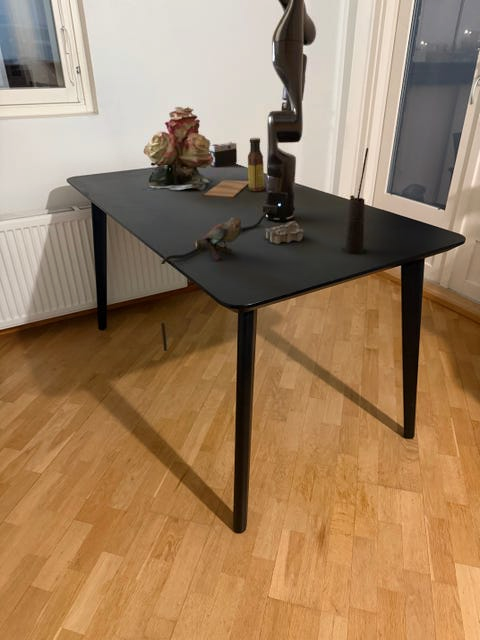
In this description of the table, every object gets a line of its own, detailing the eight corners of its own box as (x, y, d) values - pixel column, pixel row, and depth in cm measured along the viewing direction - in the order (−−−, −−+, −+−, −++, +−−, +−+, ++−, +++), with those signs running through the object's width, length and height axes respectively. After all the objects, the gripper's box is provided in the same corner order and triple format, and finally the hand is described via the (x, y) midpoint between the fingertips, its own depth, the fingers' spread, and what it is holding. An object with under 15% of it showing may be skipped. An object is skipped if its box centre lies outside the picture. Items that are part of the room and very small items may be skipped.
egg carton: (296, 233, 144) (297, 220, 142) (305, 241, 138) (306, 228, 136) (263, 236, 142) (263, 223, 140) (271, 244, 135) (272, 231, 133)
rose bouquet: (141, 190, 190) (132, 110, 175) (172, 174, 214) (167, 102, 199) (198, 195, 183) (194, 112, 168) (224, 178, 207) (223, 104, 191)
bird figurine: (179, 245, 133) (197, 193, 117) (208, 239, 138) (228, 188, 123) (202, 281, 129) (223, 232, 113) (230, 273, 134) (254, 224, 118)
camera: (227, 160, 239) (226, 140, 234) (237, 163, 233) (237, 142, 228) (205, 164, 231) (204, 143, 226) (215, 167, 226) (214, 145, 221)
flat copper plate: (233, 197, 179) (233, 196, 179) (204, 195, 182) (204, 194, 182) (250, 182, 199) (250, 181, 199) (223, 181, 202) (223, 179, 202)
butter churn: (330, 243, 136) (340, 143, 122) (362, 242, 136) (375, 142, 122) (338, 255, 128) (349, 149, 114) (372, 254, 129) (387, 148, 114)
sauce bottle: (264, 188, 191) (265, 137, 181) (263, 192, 186) (264, 139, 176) (248, 188, 191) (248, 137, 182) (247, 192, 186) (247, 139, 176)
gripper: (290, 87, 174) (285, 134, 181) (277, 83, 162) (271, 133, 169) (309, 89, 172) (303, 136, 178) (297, 84, 160) (291, 135, 166)
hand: (288, 134), depth 173 cm, fingers open, 8 cm apart
